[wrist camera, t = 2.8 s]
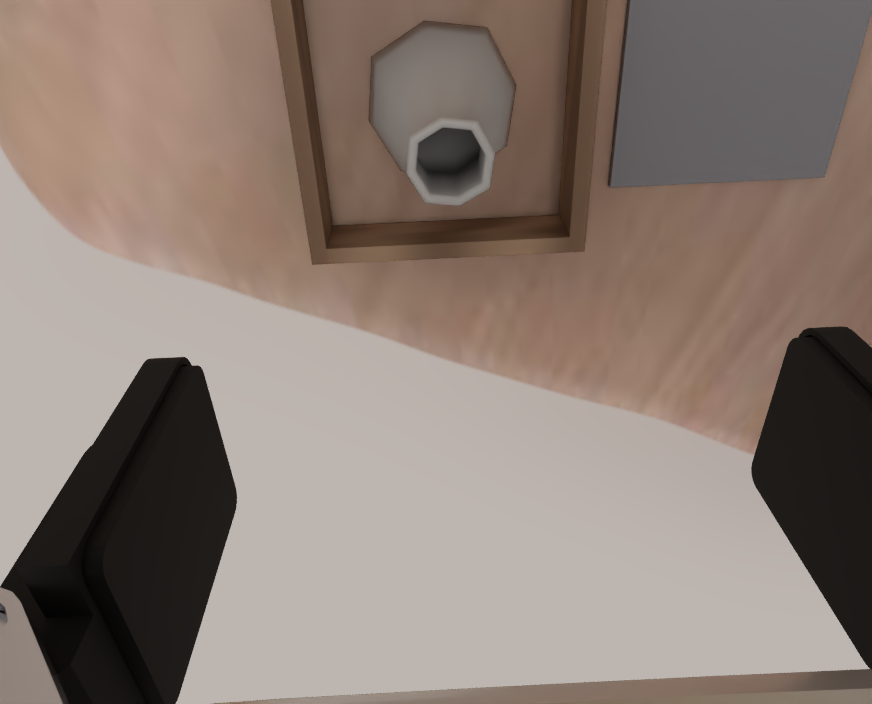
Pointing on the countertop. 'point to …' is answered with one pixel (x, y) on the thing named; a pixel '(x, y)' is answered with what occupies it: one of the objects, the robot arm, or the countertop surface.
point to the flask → (442, 108)
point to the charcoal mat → (733, 89)
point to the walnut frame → (451, 234)
